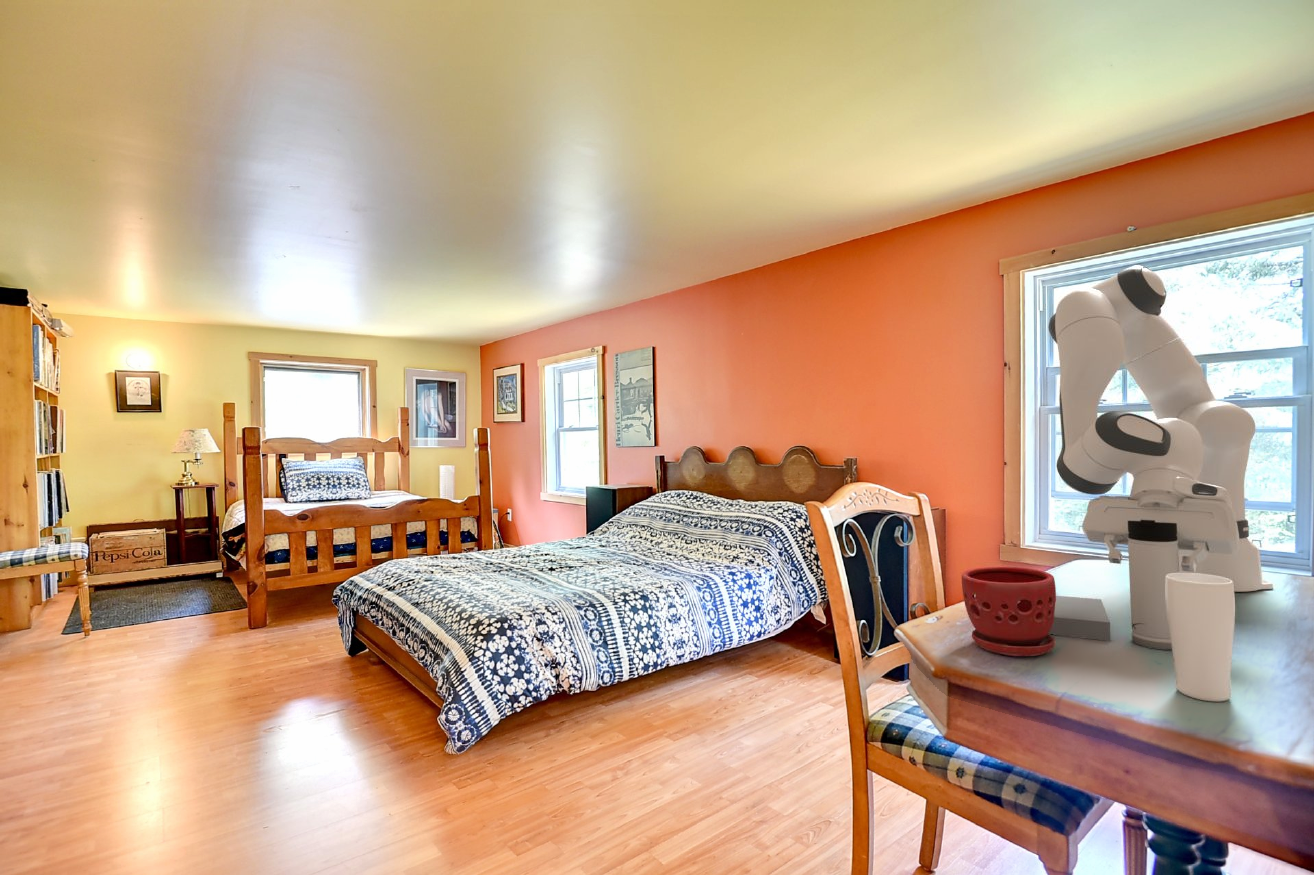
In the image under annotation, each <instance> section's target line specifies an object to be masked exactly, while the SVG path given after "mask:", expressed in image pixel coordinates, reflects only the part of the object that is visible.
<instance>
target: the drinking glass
mask: <svg viewBox="0 0 1314 875" xmlns="http://www.w3.org/2000/svg"><path fill="white" fill-rule="evenodd" d="M1165 600H1166V611H1167V618H1168V625H1169V632H1170V638H1171V645H1172V650H1171V651H1172V657H1173V666H1174V676H1175V678H1174V679H1175V686H1176V689H1177V690H1178V691H1179V692H1180V693H1181V694H1183V695H1184V696H1187V697H1189V698H1193V699H1196V700H1201V701H1206V702H1215V703H1216V702H1217V703H1218V702H1224V701H1227V700H1229V699H1230V698H1231V696H1232V692H1231V691H1232V688H1231V678H1232V665H1233V664H1232V663H1233V662H1232V661H1233V648H1234V635H1235V622H1236V621H1235V620H1236V601H1235V600H1236V599H1235V591H1234V588H1233V581H1232V580H1230V579H1228V578H1224V577H1220V576H1215V575H1208V574H1198V573H1171V574H1167V575H1166V576H1165Z"/></svg>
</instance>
